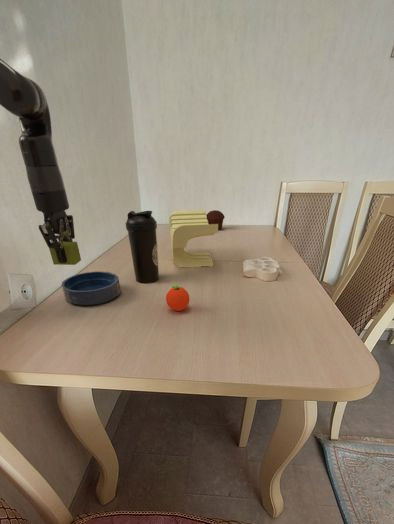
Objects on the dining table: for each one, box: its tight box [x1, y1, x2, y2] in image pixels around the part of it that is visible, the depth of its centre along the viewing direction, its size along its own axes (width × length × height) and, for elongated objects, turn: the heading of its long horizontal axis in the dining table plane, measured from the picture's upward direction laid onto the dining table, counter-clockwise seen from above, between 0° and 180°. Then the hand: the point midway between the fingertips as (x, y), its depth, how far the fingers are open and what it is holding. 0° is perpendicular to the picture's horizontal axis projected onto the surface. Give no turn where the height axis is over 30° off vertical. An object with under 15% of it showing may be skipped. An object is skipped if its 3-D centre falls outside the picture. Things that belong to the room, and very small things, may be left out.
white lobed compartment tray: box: [242, 256, 284, 282], centre depth 112 cm, size 3×18×15 cm
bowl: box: [60, 271, 122, 306], centre depth 96 cm, size 18×18×5 cm
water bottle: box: [125, 210, 160, 284], centre depth 103 cm, size 10×10×23 cm
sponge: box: [48, 241, 82, 266], centre depth 79 cm, size 6×4×5 cm, turn 85°
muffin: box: [206, 210, 225, 232], centre depth 173 cm, size 12×11×10 cm
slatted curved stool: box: [168, 209, 219, 268], centre depth 120 cm, size 30×16×18 cm, turn 7°
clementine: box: [165, 285, 191, 312], centre depth 87 cm, size 8×7×7 cm
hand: (66, 259), depth 80 cm, fingers closed on sponge, 4 cm apart
